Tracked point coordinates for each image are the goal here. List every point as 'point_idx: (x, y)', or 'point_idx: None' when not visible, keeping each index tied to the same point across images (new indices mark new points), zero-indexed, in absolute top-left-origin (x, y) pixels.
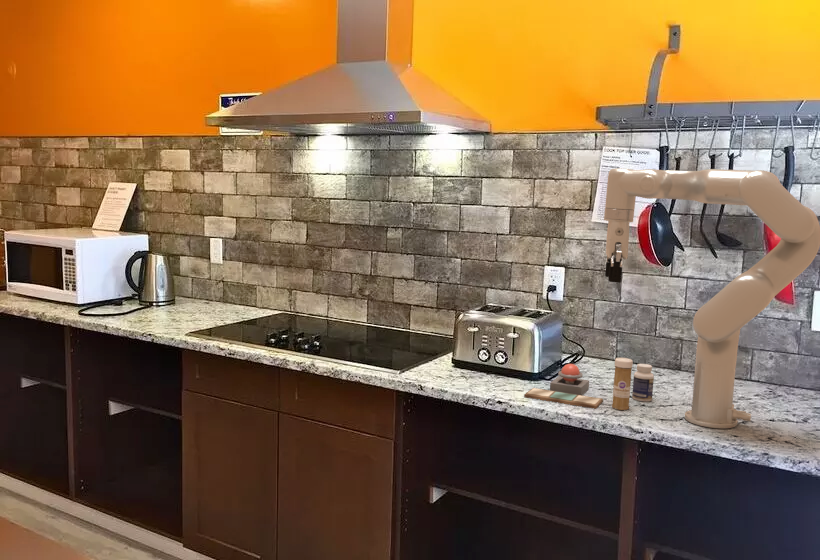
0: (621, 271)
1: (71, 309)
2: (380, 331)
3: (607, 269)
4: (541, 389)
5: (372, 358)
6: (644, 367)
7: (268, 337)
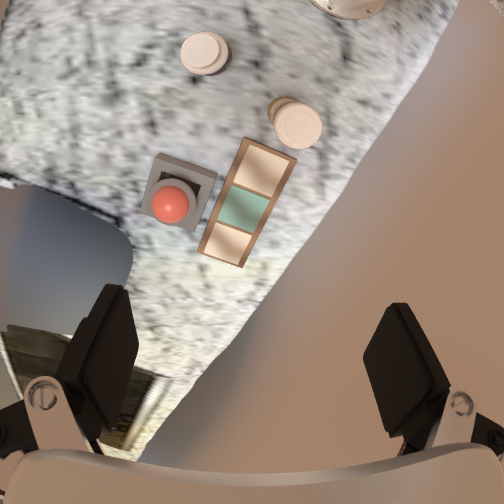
0: (436, 362)
1: None
2: (23, 369)
3: (125, 381)
4: (208, 241)
5: None
6: (218, 53)
7: None
